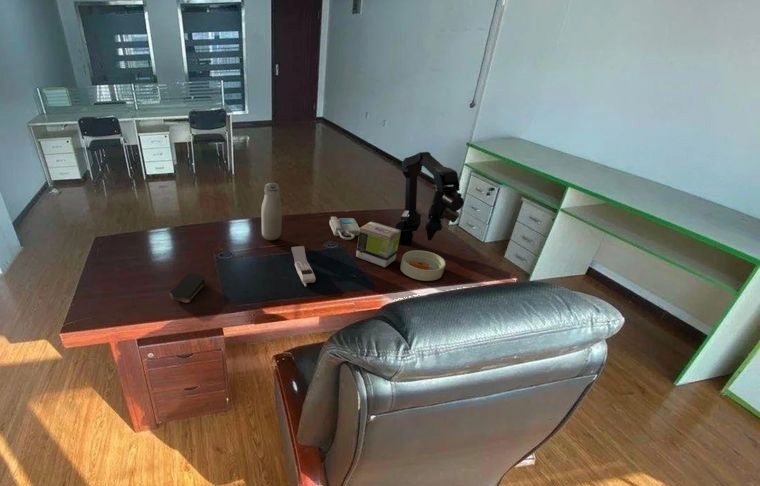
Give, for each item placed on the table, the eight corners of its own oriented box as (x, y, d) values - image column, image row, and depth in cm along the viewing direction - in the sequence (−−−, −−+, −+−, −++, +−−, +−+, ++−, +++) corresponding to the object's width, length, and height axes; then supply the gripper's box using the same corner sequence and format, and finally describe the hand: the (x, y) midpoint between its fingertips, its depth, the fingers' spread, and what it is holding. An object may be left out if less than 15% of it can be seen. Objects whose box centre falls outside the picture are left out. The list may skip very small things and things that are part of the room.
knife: (407, 268, 171) (409, 262, 169) (408, 266, 172) (409, 259, 171) (434, 273, 167) (436, 267, 165) (434, 270, 169) (436, 264, 167)
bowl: (397, 277, 166) (400, 265, 163) (402, 258, 179) (404, 247, 176) (441, 285, 161) (444, 273, 158) (442, 265, 174) (446, 254, 171)
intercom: (339, 236, 188) (329, 215, 208) (338, 244, 191) (328, 223, 211) (366, 236, 188) (354, 214, 209) (365, 244, 191) (353, 222, 211)
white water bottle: (264, 244, 191) (264, 188, 175) (259, 235, 199) (258, 180, 183) (284, 242, 193) (285, 186, 177) (278, 233, 201) (279, 178, 185)
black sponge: (189, 279, 166) (188, 272, 164) (207, 283, 164) (206, 275, 162) (169, 301, 154) (167, 293, 152) (188, 305, 152) (187, 297, 149)
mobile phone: (303, 245, 178) (318, 273, 158) (303, 257, 181) (317, 286, 161) (290, 246, 177) (303, 275, 157) (290, 258, 181) (303, 287, 160)
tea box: (395, 259, 178) (402, 229, 170) (384, 268, 172) (390, 237, 164) (366, 249, 187) (371, 220, 178) (354, 257, 181) (359, 227, 172)
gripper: (460, 213, 153) (449, 249, 162) (461, 196, 166) (451, 230, 176) (430, 208, 156) (420, 244, 165) (433, 192, 170) (424, 226, 179)
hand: (430, 235), depth 171 cm, fingers open, 9 cm apart
